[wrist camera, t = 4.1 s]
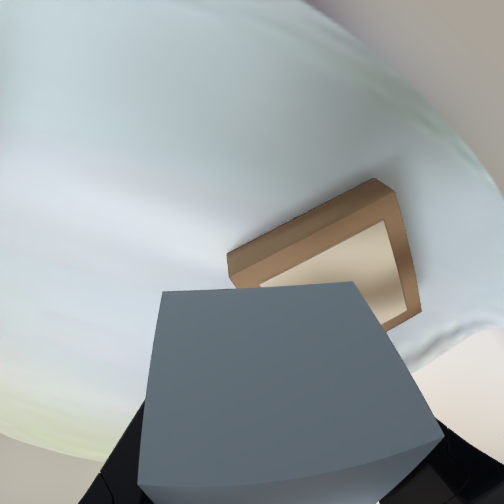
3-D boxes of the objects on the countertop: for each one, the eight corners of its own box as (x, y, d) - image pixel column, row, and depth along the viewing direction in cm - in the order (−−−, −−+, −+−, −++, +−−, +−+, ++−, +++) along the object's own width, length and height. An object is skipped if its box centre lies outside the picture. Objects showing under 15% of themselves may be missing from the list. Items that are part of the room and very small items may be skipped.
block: (353, 280, 8) (445, 435, 4) (324, 393, 11) (363, 513, 6) (162, 291, 8) (137, 484, 3) (185, 405, 10) (188, 537, 6)
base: (406, 291, 23) (422, 312, 20) (292, 350, 24) (299, 376, 22) (374, 177, 18) (396, 192, 16) (226, 254, 19) (229, 278, 17)
